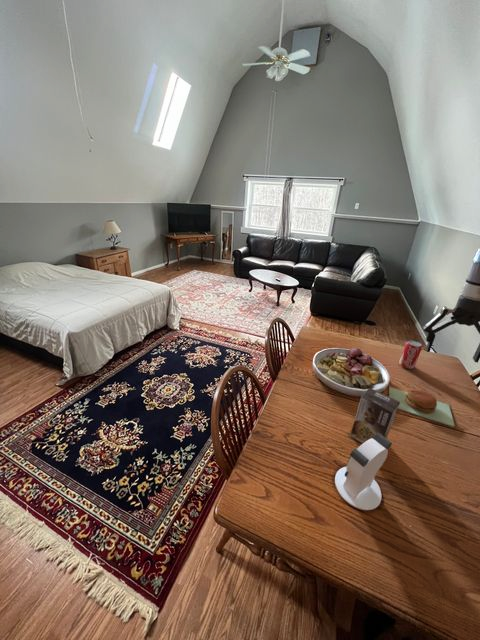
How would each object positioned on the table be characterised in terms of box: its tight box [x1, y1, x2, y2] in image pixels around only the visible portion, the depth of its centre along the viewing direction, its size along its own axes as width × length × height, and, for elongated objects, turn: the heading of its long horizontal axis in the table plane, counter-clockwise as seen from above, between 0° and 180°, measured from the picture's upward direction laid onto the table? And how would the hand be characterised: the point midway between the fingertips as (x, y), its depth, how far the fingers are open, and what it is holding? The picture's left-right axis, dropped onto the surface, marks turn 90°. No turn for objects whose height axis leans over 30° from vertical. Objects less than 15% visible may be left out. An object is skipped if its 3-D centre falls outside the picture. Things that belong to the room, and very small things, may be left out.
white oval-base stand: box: [334, 433, 393, 511], centre depth 67 cm, size 12×11×15 cm
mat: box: [388, 386, 456, 428], centre depth 99 cm, size 20×12×1 cm, turn 63°
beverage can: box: [398, 340, 423, 369], centre depth 121 cm, size 6×6×12 cm
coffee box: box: [349, 388, 400, 444], centre depth 81 cm, size 9×6×16 cm
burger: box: [405, 388, 438, 414], centre depth 98 cm, size 10×9×5 cm
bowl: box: [312, 347, 391, 398], centre depth 112 cm, size 30×30×8 cm
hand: (450, 355), depth 92 cm, fingers open, 13 cm apart
